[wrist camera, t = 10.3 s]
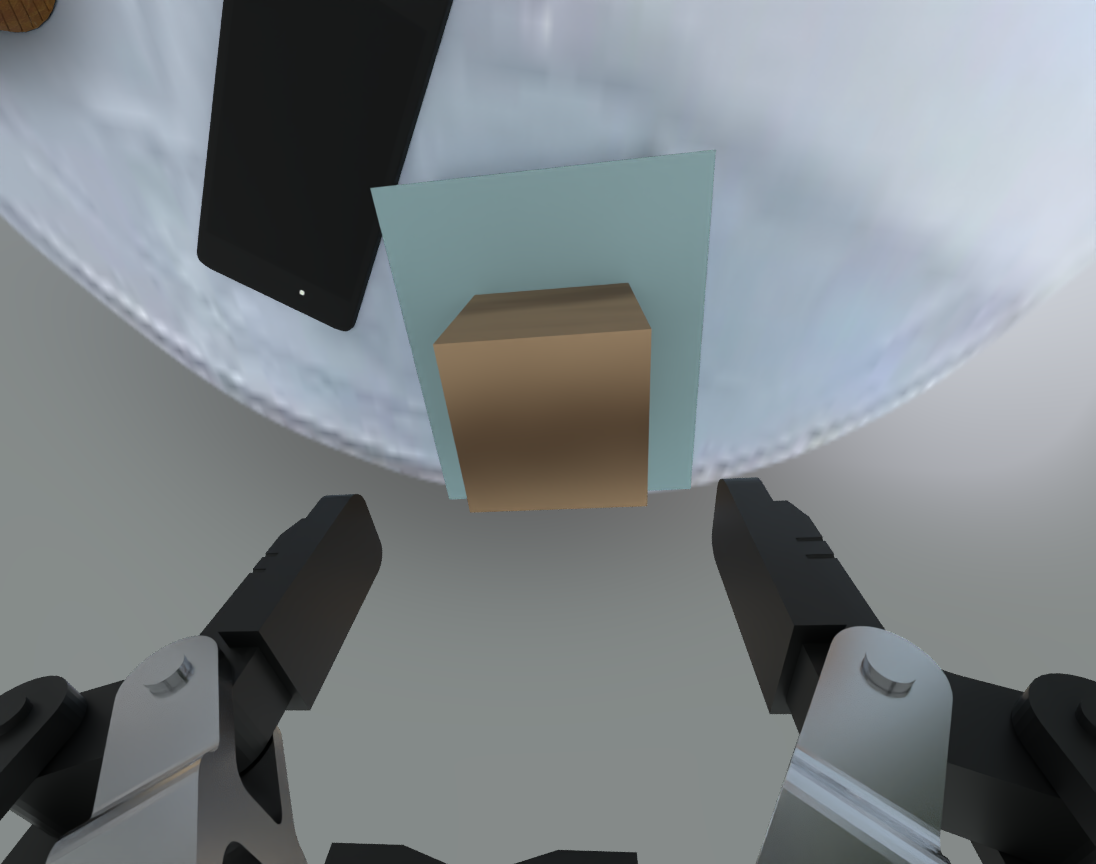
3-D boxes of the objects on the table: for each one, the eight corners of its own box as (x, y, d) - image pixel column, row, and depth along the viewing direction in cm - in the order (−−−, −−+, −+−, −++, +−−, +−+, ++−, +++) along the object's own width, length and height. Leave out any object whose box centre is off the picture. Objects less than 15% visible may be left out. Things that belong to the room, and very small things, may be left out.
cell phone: (465, -32, 19) (460, -41, 18) (355, 331, 28) (348, 335, 27) (257, -172, 18) (242, -188, 17) (206, 259, 26) (194, 261, 25)
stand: (432, 184, 23) (370, 188, 16) (671, 158, 22) (715, 149, 15) (478, 424, 30) (449, 499, 23) (662, 413, 29) (690, 488, 22)
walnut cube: (474, 295, 18) (432, 344, 12) (628, 282, 17) (651, 329, 12) (496, 427, 21) (470, 512, 15) (628, 420, 20) (647, 506, 15)
